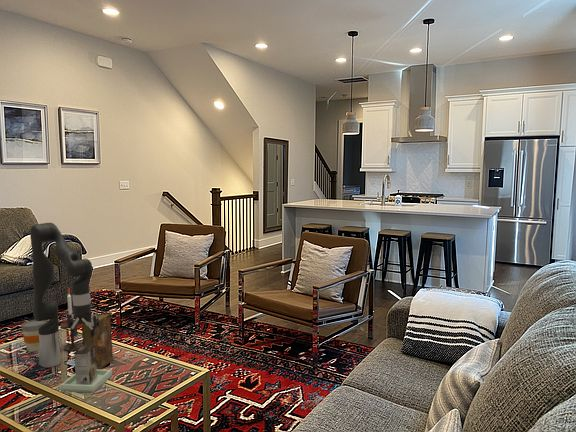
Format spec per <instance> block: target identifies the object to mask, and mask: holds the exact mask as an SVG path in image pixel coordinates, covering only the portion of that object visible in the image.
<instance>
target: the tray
mask: <svg viewBox="0 0 576 432" xmlns="http://www.w3.org/2000/svg"><path fill="white" fill-rule="evenodd" d="M112 377H113V370H112V369H97V377H96V378H95V379H94V381H93V382H92V383H91V385H82V384H76V372H75V373H74V374H72V375H71V376H69V378H67V379H66V380H65V381H63V382H62V383H61V384H60V386H59V387H60V388H59V389H60V392H67V393H68V392H71V393H72V392H74V393H90V394H91V393H92V394H94V393H95V392H97V390H98V389H100V388H101V387H102V386H103V385H104V384H106V382H107V381H108V380H109V379H110V378H112Z"/></svg>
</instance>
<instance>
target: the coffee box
mask: <svg viewBox="0 0 576 432" xmlns="http://www.w3.org/2000/svg"><path fill="white" fill-rule="evenodd" d="M73 355H74V356H73V357H74V369H75V373H76V384H82V385H91V383H92V382H93V381H94V379H95V378H96V377H97V368H96V356H95V345H83V344H82V345H81V346H80V347H79V348H78V349H77V350H75V351H74V352H73Z"/></svg>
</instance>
